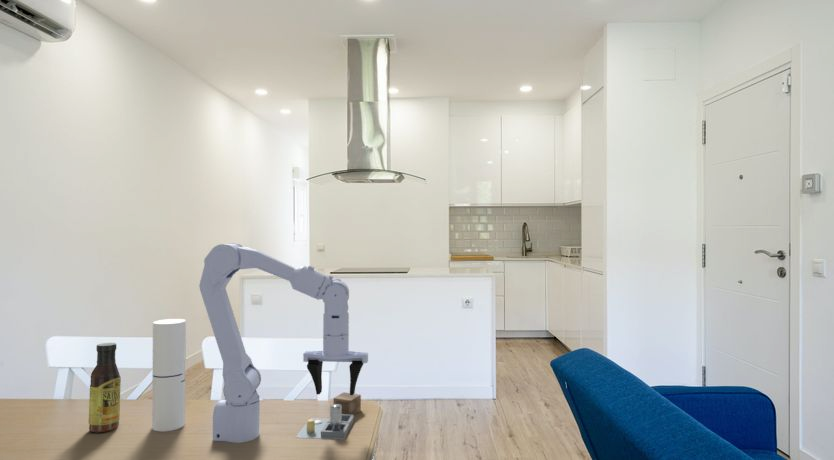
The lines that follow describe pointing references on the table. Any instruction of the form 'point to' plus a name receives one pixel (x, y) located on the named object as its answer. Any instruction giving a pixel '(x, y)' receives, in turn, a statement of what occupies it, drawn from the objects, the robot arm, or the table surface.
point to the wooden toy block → (349, 403)
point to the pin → (335, 417)
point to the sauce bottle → (104, 391)
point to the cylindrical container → (168, 374)
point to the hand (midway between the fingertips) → (335, 393)
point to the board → (325, 428)
